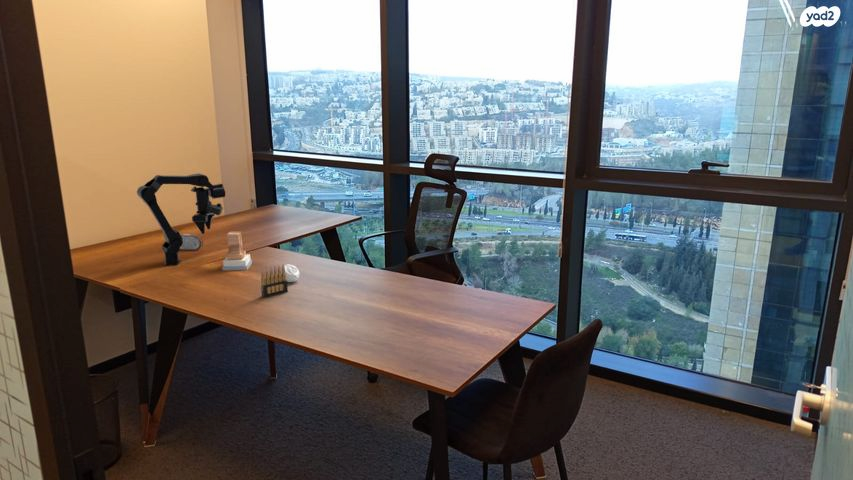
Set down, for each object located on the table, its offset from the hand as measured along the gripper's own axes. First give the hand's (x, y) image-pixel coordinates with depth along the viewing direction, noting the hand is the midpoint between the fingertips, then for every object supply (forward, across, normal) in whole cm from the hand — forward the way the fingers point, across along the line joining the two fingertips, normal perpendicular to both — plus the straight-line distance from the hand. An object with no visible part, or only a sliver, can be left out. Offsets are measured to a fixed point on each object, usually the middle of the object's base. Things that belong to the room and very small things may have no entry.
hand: (206, 231), depth 283 cm
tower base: (+14, -17, -18) cm, 28 cm away
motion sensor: (+13, -40, -46) cm, 62 cm away
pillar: (+9, -16, -18) cm, 26 cm away
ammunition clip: (+13, -55, -42) cm, 70 cm away
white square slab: (+11, -16, -18) cm, 27 cm away
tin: (+13, +14, +14) cm, 24 cm away
